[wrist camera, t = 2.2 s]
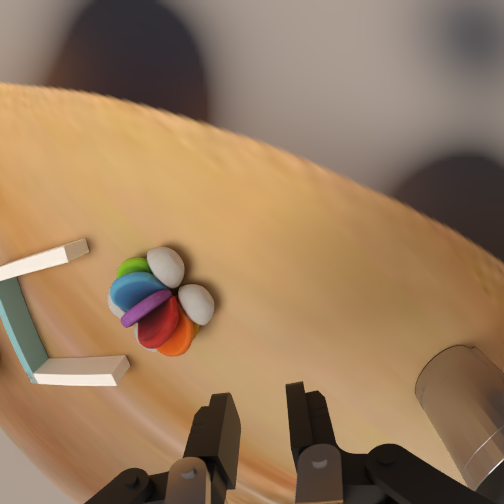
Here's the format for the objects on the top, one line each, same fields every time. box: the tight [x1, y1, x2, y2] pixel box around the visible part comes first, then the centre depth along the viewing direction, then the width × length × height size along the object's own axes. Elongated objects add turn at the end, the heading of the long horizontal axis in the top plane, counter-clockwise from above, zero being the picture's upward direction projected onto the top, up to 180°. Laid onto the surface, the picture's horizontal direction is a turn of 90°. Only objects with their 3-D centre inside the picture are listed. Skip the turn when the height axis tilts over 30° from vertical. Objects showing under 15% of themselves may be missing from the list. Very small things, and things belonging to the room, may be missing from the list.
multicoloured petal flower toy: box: [107, 247, 214, 356], centre depth 26 cm, size 8×10×7 cm
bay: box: [0, 238, 130, 386], centre depth 28 cm, size 14×15×4 cm
